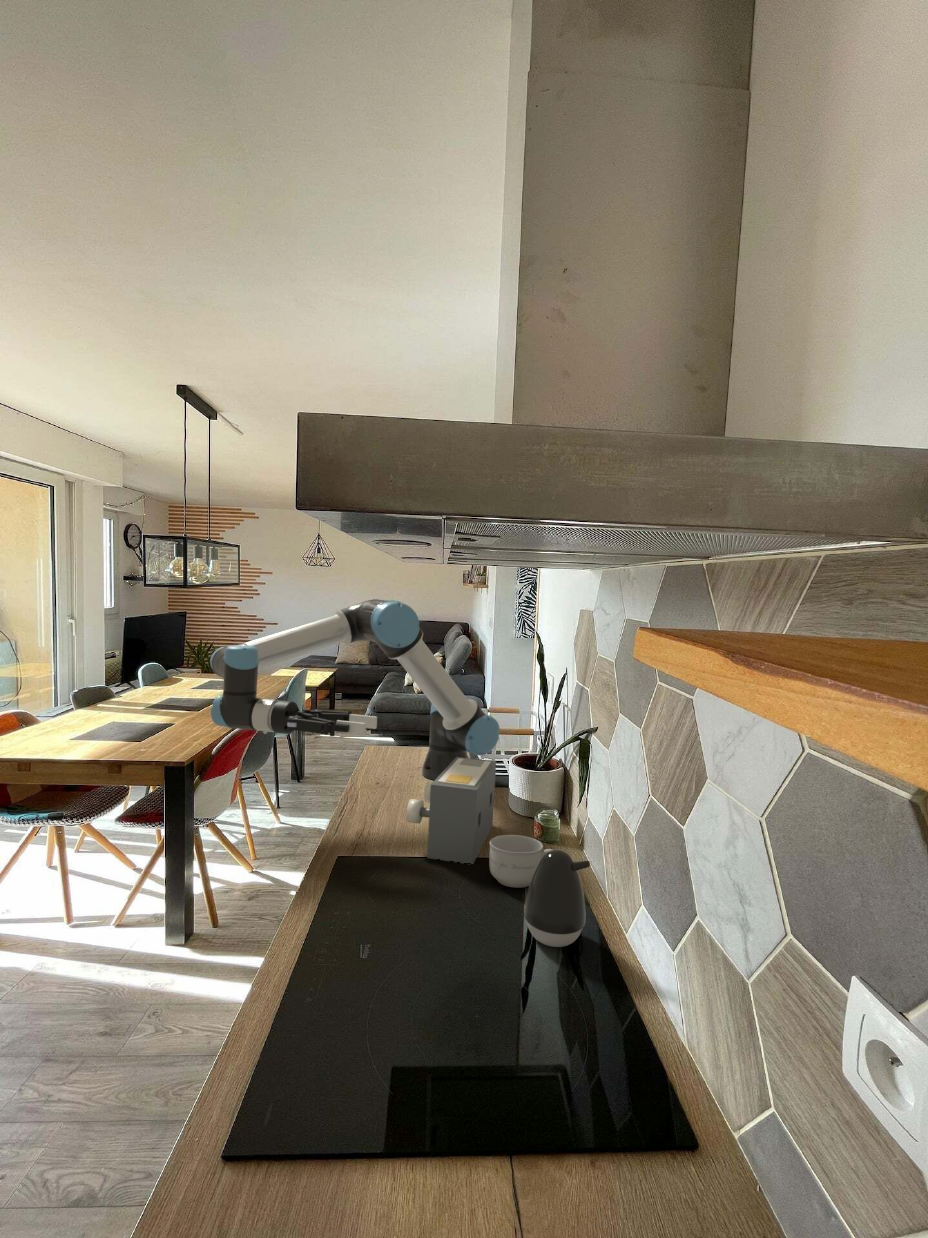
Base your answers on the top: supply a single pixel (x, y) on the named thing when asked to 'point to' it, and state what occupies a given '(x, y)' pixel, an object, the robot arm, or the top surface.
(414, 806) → the marked button
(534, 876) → the pump dispenser
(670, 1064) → the top surface
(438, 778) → the box
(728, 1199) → the top surface
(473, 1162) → the top surface
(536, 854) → the teacup
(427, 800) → the unmarked button
